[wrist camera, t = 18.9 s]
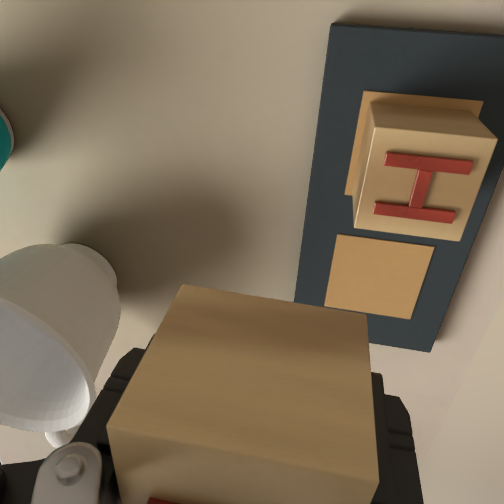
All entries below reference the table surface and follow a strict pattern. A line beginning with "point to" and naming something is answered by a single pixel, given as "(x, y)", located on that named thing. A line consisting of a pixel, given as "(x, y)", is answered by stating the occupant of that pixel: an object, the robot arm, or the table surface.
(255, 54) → the table surface
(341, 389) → the tile
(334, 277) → the word mat
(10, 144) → the beverage can
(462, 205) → the tile
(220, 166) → the table surface
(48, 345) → the teacup
